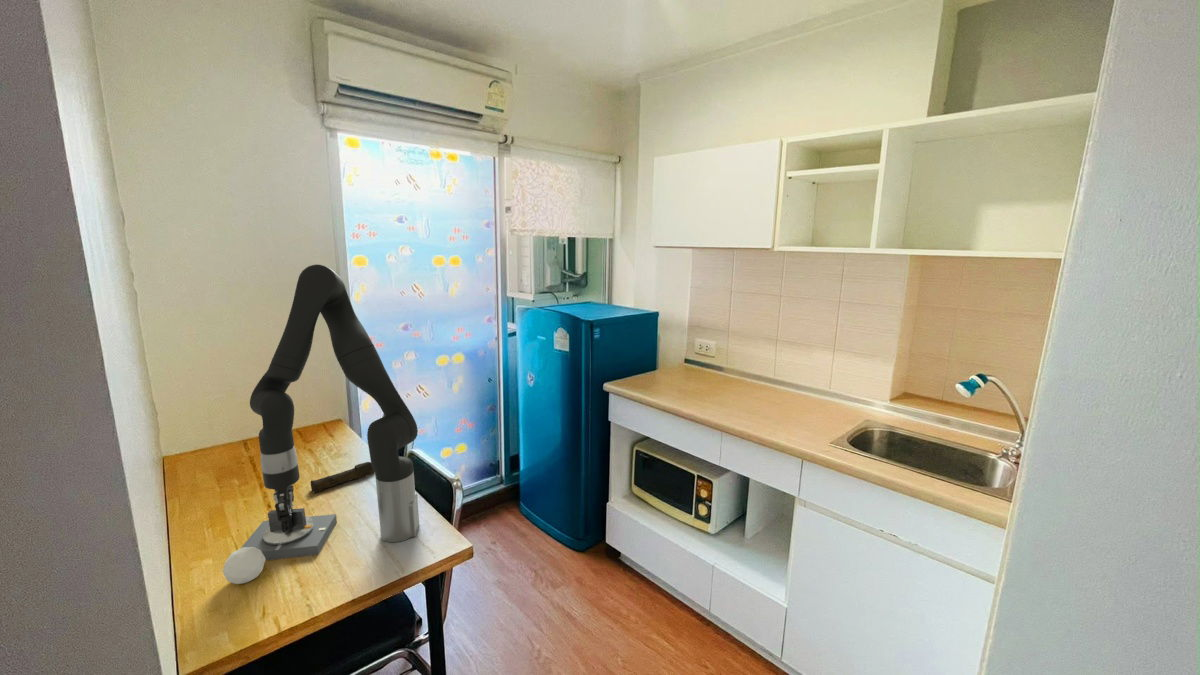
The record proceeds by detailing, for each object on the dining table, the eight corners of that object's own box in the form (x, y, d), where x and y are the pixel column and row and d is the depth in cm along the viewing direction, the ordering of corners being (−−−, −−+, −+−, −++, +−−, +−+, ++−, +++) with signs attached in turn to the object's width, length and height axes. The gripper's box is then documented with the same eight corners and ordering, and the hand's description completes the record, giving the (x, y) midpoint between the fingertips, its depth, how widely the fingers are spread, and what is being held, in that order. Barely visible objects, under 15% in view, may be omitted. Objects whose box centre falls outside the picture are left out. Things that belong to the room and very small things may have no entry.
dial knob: (277, 520, 127) (274, 500, 126) (320, 518, 129) (318, 498, 128) (253, 546, 117) (250, 525, 115) (301, 543, 118) (299, 521, 117)
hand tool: (313, 495, 145) (312, 482, 144) (310, 490, 148) (309, 477, 147) (378, 476, 158) (377, 463, 157) (374, 471, 161) (373, 459, 160)
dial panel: (336, 522, 132) (335, 513, 131) (318, 554, 118) (317, 544, 118) (264, 529, 128) (263, 520, 128) (237, 563, 115) (235, 553, 114)
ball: (253, 592, 109) (249, 581, 104) (217, 583, 108) (210, 571, 103) (274, 559, 115) (271, 547, 110) (240, 550, 114) (235, 537, 108)
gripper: (295, 474, 115) (303, 537, 118) (299, 451, 127) (306, 509, 130) (257, 481, 111) (267, 546, 115) (265, 457, 123) (274, 516, 127)
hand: (288, 526), depth 122 cm, fingers open, 3 cm apart
